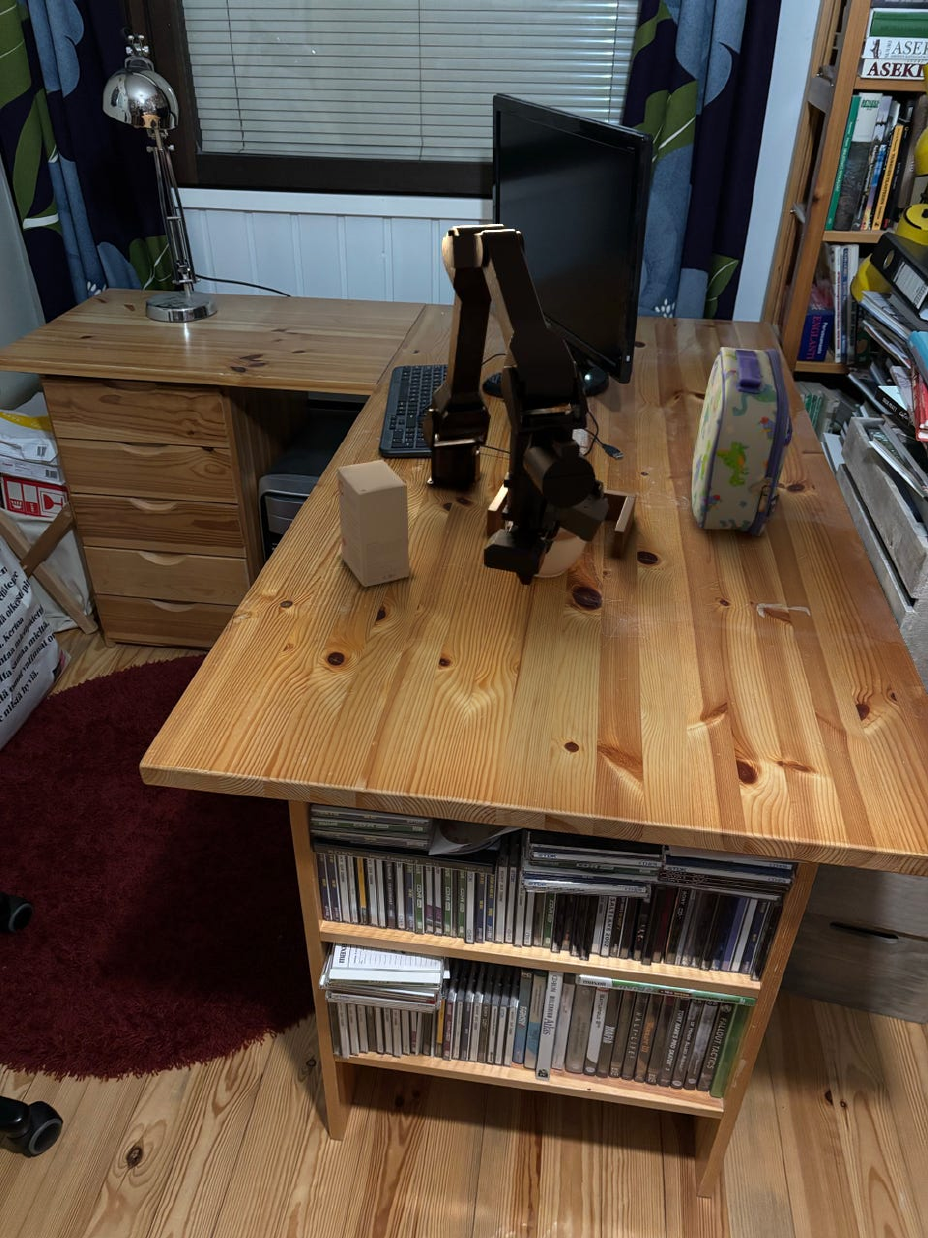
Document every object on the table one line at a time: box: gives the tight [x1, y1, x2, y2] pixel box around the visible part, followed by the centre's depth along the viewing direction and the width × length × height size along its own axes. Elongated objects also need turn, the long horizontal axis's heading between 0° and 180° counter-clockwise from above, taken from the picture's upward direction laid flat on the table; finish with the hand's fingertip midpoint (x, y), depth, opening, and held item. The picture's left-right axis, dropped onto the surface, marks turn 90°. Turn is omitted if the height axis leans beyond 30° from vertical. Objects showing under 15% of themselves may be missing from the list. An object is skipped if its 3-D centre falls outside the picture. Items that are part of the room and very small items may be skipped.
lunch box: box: [691, 346, 794, 537], centre depth 130 cm, size 26×11×21 cm, turn 169°
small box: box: [336, 459, 410, 588], centre depth 116 cm, size 8×6×13 cm
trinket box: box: [504, 521, 587, 579], centre depth 119 cm, size 11×11×9 cm
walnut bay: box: [486, 484, 637, 559], centre depth 128 cm, size 18×11×4 cm, turn 73°
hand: (526, 583), depth 112 cm, fingers closed
